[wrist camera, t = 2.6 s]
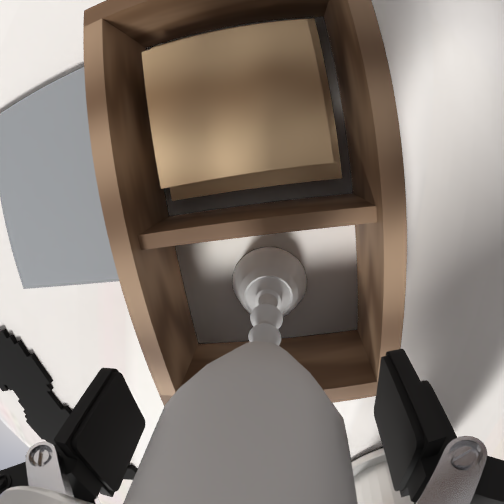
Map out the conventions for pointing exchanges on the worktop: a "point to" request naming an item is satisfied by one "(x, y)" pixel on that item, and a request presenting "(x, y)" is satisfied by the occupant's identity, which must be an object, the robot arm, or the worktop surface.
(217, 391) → the chalice
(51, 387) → the black silhouette cutout
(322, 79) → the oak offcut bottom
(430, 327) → the worktop surface
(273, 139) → the oak offcut top
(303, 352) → the walnut crate
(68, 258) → the slate mat
